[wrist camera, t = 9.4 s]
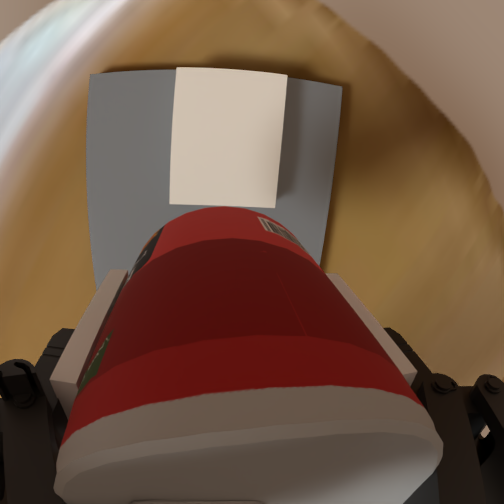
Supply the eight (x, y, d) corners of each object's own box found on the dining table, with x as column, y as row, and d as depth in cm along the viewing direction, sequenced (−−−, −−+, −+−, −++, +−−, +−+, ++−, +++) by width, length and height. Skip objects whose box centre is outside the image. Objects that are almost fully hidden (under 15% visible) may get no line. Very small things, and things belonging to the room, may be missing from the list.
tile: (274, 208, 21) (287, 75, 18) (169, 204, 20) (176, 67, 17) (270, 202, 23) (281, 78, 20) (172, 198, 22) (179, 71, 19)
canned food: (124, 208, 13) (-34, 408, 3) (311, 196, 14) (513, 353, 3) (152, 354, 15) (129, 560, 5) (304, 341, 16) (387, 529, 6)
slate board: (307, 300, 28) (311, 308, 27) (102, 296, 25) (98, 303, 24) (336, 88, 21) (342, 86, 20) (95, 76, 19) (90, 74, 18)
